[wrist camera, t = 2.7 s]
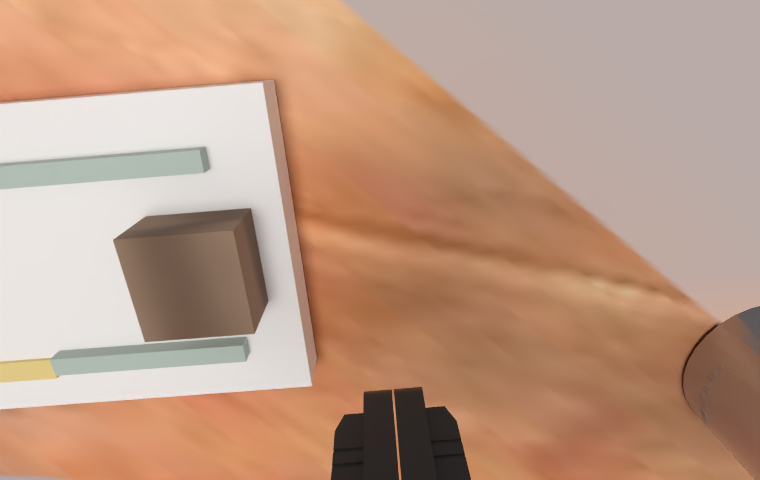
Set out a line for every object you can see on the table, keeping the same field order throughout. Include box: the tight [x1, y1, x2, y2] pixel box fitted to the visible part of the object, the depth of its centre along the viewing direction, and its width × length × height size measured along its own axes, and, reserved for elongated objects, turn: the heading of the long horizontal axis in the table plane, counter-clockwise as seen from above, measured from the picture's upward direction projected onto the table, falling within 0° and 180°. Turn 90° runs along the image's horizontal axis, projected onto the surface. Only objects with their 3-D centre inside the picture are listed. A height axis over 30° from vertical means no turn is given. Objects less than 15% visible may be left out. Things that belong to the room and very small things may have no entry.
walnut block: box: [113, 208, 268, 342], centre depth 21 cm, size 5×5×3 cm
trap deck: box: [0, 80, 317, 409], centre depth 24 cm, size 26×16×3 cm, turn 94°
